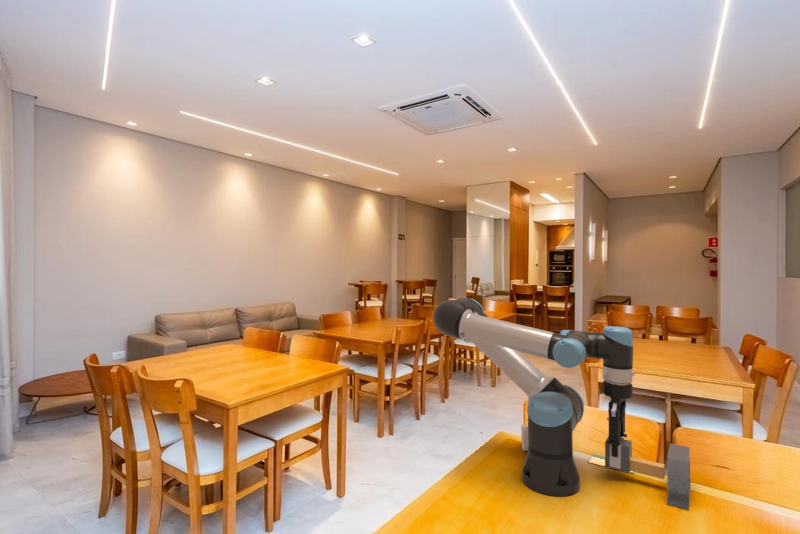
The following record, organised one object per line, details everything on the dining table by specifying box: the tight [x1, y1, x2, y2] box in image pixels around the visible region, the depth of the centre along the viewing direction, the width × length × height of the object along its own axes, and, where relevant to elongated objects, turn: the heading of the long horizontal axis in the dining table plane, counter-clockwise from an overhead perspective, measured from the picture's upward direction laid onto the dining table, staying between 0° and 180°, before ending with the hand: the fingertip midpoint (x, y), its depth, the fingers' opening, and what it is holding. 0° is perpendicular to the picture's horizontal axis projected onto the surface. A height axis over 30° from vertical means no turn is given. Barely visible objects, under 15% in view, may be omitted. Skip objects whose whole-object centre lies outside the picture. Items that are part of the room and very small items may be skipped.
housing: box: [666, 442, 692, 511], centre depth 110 cm, size 4×17×10 cm, turn 144°
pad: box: [591, 453, 634, 474], centre depth 126 cm, size 12×7×1 cm, turn 54°
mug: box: [520, 424, 528, 452], centre depth 138 cm, size 12×10×8 cm
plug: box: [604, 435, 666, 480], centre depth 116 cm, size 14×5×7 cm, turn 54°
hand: (616, 463), depth 118 cm, fingers closed on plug, 5 cm apart
